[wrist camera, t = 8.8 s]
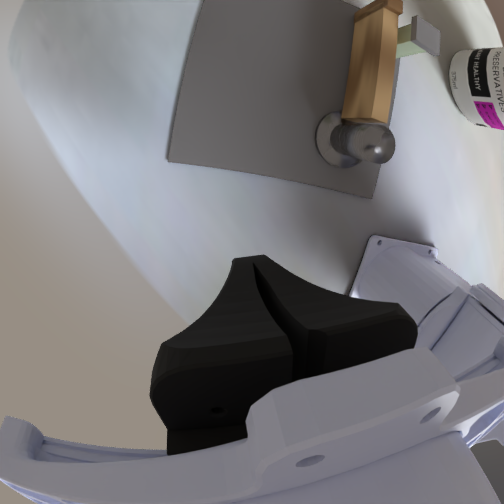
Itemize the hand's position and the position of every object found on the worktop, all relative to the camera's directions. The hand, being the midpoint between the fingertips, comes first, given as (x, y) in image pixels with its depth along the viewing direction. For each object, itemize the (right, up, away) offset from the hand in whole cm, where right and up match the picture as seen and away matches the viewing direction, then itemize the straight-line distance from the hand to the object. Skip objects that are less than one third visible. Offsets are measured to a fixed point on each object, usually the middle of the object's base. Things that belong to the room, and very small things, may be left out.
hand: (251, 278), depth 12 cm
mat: (+4, +14, +5) cm, 15 cm away
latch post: (+11, +17, +5) cm, 21 cm away
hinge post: (+7, +10, +8) cm, 14 cm away
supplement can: (+22, +18, +7) cm, 29 cm away
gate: (+8, +15, +5) cm, 18 cm away
